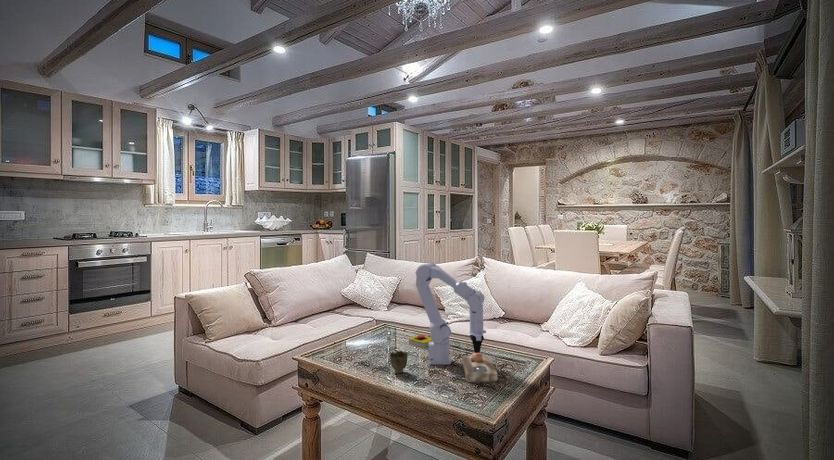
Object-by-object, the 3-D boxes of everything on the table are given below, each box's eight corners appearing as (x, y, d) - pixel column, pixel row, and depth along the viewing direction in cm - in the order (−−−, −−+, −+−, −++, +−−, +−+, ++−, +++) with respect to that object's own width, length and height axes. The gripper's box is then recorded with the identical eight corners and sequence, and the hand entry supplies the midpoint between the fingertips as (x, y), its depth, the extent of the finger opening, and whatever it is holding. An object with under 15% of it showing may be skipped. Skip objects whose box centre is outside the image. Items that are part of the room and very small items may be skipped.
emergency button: (418, 331, 210) (439, 337, 200) (418, 339, 211) (439, 345, 200) (405, 335, 204) (427, 341, 193) (405, 344, 204) (427, 350, 193)
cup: (394, 377, 160) (394, 357, 160) (387, 371, 167) (386, 352, 167) (411, 373, 164) (410, 354, 164) (403, 367, 170) (403, 349, 170)
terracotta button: (472, 363, 167) (472, 356, 167) (471, 359, 172) (471, 352, 172) (483, 363, 167) (482, 356, 167) (481, 359, 172) (481, 352, 171)
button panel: (466, 381, 155) (466, 374, 155) (462, 362, 175) (462, 356, 175) (497, 381, 154) (497, 373, 154) (489, 362, 174) (489, 355, 174)
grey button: (475, 377, 157) (475, 370, 157) (474, 373, 162) (474, 366, 162) (486, 377, 157) (486, 370, 157) (485, 373, 162) (484, 365, 162)
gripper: (488, 325, 161) (489, 358, 162) (483, 316, 176) (484, 346, 176) (471, 325, 162) (471, 358, 162) (467, 316, 176) (468, 346, 177)
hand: (477, 352), depth 169 cm, fingers closed
